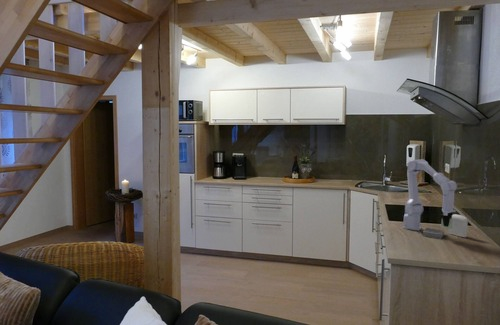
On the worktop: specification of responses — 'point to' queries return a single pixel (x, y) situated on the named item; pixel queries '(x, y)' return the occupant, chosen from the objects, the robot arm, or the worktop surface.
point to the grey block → (433, 233)
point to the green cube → (448, 225)
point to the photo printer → (459, 226)
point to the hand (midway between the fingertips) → (446, 225)
